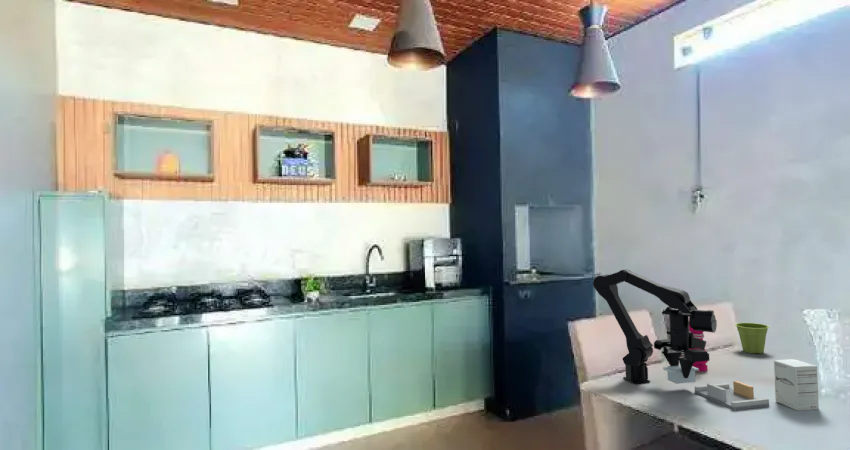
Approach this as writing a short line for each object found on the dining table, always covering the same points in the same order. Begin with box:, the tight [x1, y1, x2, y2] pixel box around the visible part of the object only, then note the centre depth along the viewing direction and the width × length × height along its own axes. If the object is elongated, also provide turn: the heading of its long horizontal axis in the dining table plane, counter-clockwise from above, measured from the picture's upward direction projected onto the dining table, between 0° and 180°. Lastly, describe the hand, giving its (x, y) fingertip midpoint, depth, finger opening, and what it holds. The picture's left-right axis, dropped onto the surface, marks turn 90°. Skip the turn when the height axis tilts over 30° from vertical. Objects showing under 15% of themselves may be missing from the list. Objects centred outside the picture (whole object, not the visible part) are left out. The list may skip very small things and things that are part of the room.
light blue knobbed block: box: [662, 364, 700, 384], centre depth 150 cm, size 10×4×5 cm, turn 100°
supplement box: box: [773, 358, 820, 411], centre depth 135 cm, size 7×7×13 cm
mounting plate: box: [694, 380, 770, 411], centre depth 141 cm, size 12×15×4 cm
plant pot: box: [734, 322, 770, 354], centre depth 194 cm, size 12×12×11 cm
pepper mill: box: [689, 325, 709, 372], centre depth 172 cm, size 7×7×20 cm
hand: (681, 376), depth 150 cm, fingers closed on light blue knobbed block, 4 cm apart
